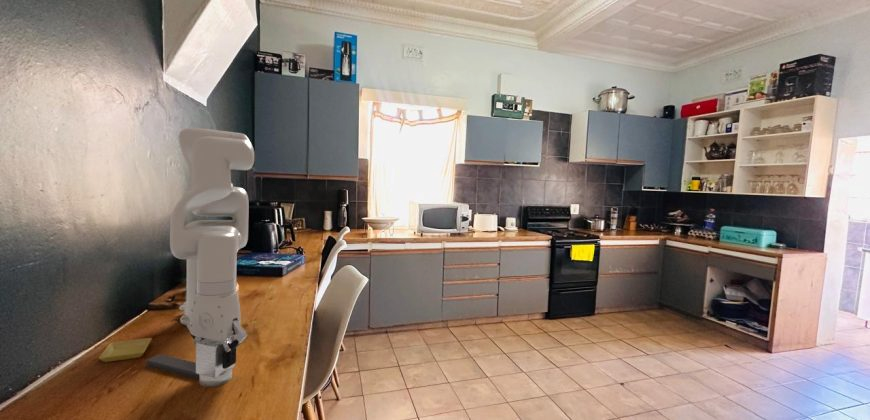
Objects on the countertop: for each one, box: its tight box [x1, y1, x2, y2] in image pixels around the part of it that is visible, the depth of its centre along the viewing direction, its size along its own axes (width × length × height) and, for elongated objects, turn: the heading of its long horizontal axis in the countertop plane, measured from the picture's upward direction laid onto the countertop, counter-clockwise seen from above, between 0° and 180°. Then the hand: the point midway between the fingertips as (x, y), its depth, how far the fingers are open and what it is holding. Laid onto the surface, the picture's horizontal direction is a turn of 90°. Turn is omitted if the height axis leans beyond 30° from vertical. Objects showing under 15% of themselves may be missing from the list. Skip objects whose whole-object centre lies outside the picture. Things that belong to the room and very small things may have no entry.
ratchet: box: [145, 353, 233, 388], centre depth 84 cm, size 22×6×5 cm, turn 75°
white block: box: [195, 338, 236, 378], centre depth 81 cm, size 5×5×7 cm
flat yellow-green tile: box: [98, 337, 153, 363], centre depth 90 cm, size 9×9×2 cm
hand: (216, 362), depth 82 cm, fingers open, 6 cm apart
